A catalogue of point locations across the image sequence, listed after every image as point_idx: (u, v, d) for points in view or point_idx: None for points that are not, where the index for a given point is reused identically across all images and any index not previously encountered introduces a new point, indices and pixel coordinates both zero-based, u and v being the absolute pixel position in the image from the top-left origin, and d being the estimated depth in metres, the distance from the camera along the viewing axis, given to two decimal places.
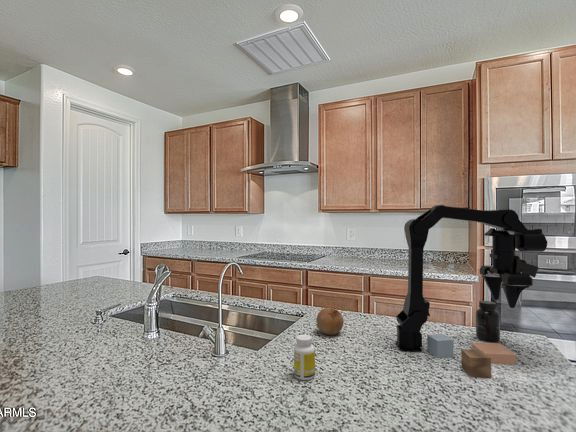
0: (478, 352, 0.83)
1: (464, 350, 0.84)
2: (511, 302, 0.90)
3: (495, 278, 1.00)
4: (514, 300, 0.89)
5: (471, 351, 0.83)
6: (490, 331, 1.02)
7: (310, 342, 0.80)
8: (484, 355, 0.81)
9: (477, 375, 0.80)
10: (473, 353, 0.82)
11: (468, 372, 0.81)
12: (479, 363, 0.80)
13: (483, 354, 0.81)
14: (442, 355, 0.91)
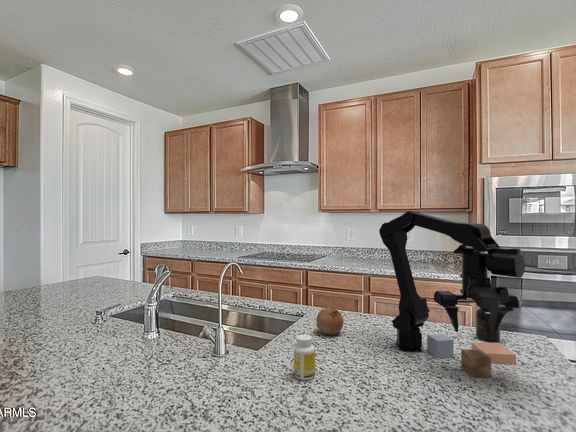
0: (478, 352, 0.83)
1: (464, 350, 0.84)
2: (452, 324, 0.83)
3: None
4: (453, 322, 0.83)
5: (471, 351, 0.83)
6: (490, 331, 1.02)
7: (310, 342, 0.80)
8: (484, 355, 0.81)
9: (477, 375, 0.80)
10: (473, 353, 0.82)
11: (468, 372, 0.81)
12: (479, 363, 0.80)
13: (483, 354, 0.81)
14: (442, 355, 0.91)
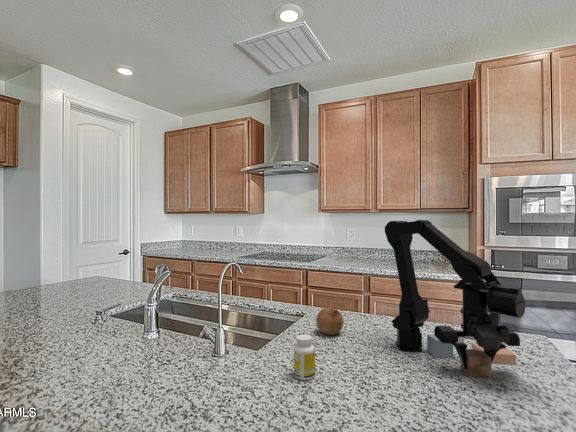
0: (478, 352, 0.82)
1: None
2: (461, 360, 0.83)
3: None
4: (461, 359, 0.82)
5: (471, 351, 0.83)
6: None
7: (310, 342, 0.80)
8: (484, 355, 0.81)
9: (477, 375, 0.80)
10: (473, 353, 0.82)
11: (468, 372, 0.81)
12: (479, 363, 0.80)
13: (483, 354, 0.81)
14: (442, 355, 0.91)
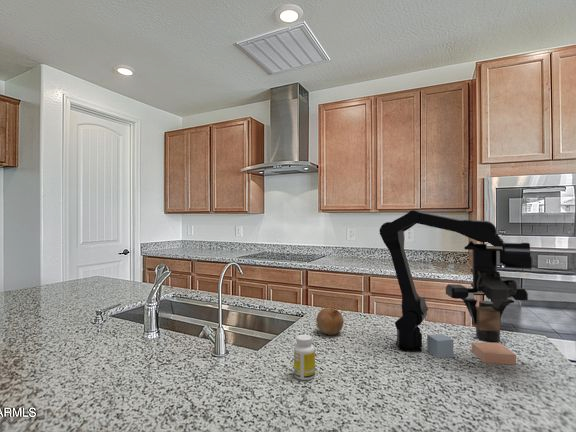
0: (488, 308, 0.87)
1: None
2: (471, 316, 0.88)
3: (497, 299, 0.86)
4: (471, 314, 0.87)
5: (481, 307, 0.88)
6: (490, 331, 1.02)
7: (310, 342, 0.80)
8: (493, 310, 0.86)
9: (486, 328, 0.84)
10: (483, 309, 0.87)
11: (478, 326, 0.85)
12: (489, 317, 0.84)
13: (492, 309, 0.86)
14: (442, 355, 0.91)
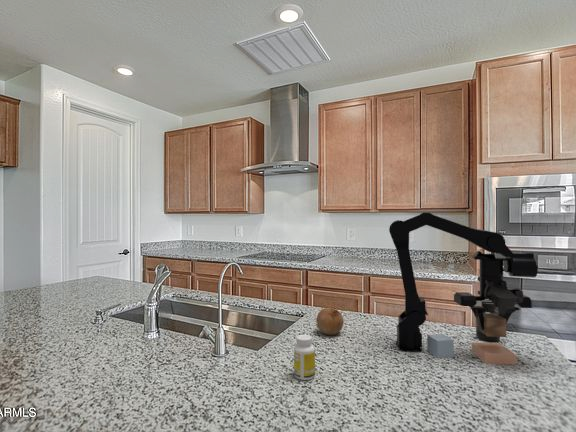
0: (494, 315, 0.91)
1: None
2: (478, 323, 0.92)
3: (503, 307, 0.91)
4: (479, 321, 0.91)
5: (487, 314, 0.92)
6: None
7: (310, 342, 0.80)
8: (499, 317, 0.90)
9: (493, 334, 0.89)
10: (490, 315, 0.91)
11: (485, 332, 0.90)
12: (496, 324, 0.89)
13: (498, 316, 0.90)
14: (442, 355, 0.91)
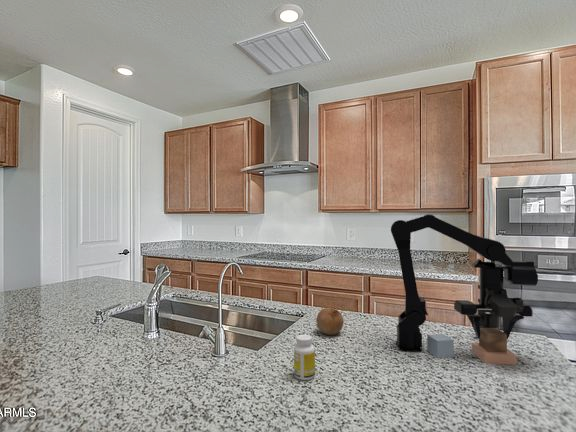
0: (495, 330, 0.91)
1: (481, 328, 0.93)
2: (475, 331, 0.92)
3: (507, 315, 0.91)
4: (475, 329, 0.91)
5: (488, 329, 0.92)
6: None
7: (310, 342, 0.80)
8: (500, 332, 0.90)
9: (494, 350, 0.88)
10: (490, 330, 0.91)
11: (486, 347, 0.89)
12: (496, 339, 0.88)
13: (499, 331, 0.90)
14: (442, 355, 0.91)
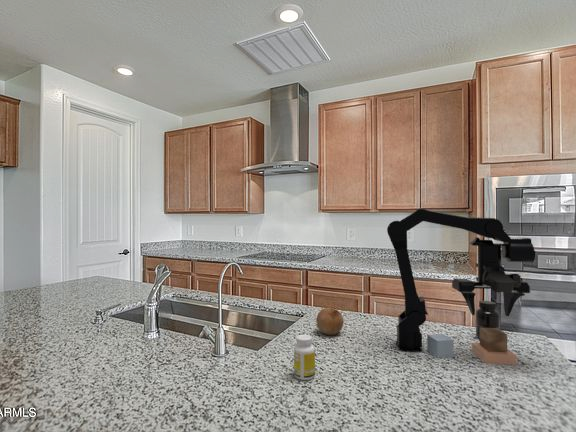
0: (495, 330, 0.91)
1: (481, 328, 0.93)
2: (469, 308, 0.93)
3: (508, 293, 0.91)
4: (470, 307, 0.92)
5: (488, 329, 0.92)
6: None
7: (310, 342, 0.80)
8: (501, 332, 0.90)
9: (494, 349, 0.89)
10: (491, 330, 0.91)
11: (486, 347, 0.90)
12: (497, 339, 0.89)
13: (500, 331, 0.90)
14: (442, 355, 0.91)
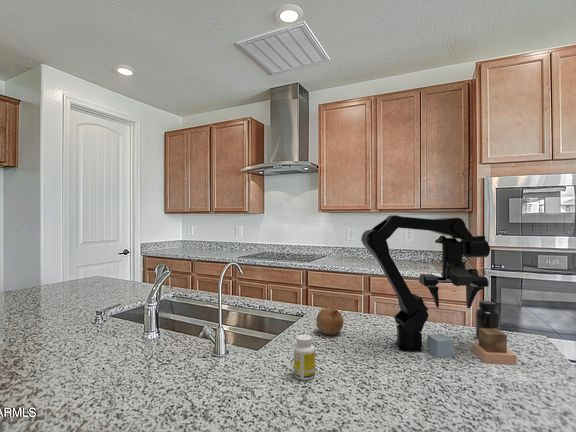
0: (495, 330, 0.91)
1: (481, 328, 0.93)
2: (434, 301, 1.00)
3: (469, 287, 0.98)
4: (434, 300, 0.99)
5: (488, 329, 0.92)
6: None
7: (310, 342, 0.80)
8: (500, 332, 0.90)
9: (494, 350, 0.88)
10: (490, 331, 0.91)
11: (486, 347, 0.89)
12: (496, 339, 0.88)
13: (499, 331, 0.90)
14: (442, 355, 0.91)
